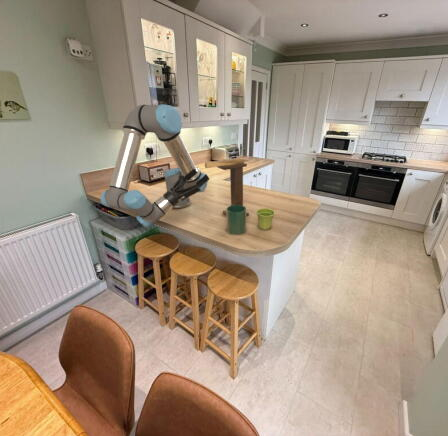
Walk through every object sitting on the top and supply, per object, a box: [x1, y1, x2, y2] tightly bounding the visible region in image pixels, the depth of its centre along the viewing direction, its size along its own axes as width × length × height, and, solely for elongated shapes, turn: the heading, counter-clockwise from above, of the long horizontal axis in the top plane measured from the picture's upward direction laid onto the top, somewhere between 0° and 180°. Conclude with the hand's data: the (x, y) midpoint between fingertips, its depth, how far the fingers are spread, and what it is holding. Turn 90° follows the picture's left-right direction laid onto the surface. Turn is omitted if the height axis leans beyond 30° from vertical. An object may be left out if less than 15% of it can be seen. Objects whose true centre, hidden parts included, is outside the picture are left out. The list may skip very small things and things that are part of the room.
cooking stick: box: [204, 156, 245, 169], centre depth 120 cm, size 2×22×2 cm, turn 125°
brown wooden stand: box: [217, 162, 250, 217], centre depth 129 cm, size 11×14×30 cm
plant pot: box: [256, 207, 276, 230], centre depth 121 cm, size 9×9×9 cm
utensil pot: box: [226, 204, 247, 235], centre depth 117 cm, size 10×10×12 cm
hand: (201, 173), depth 115 cm, fingers open, 13 cm apart
